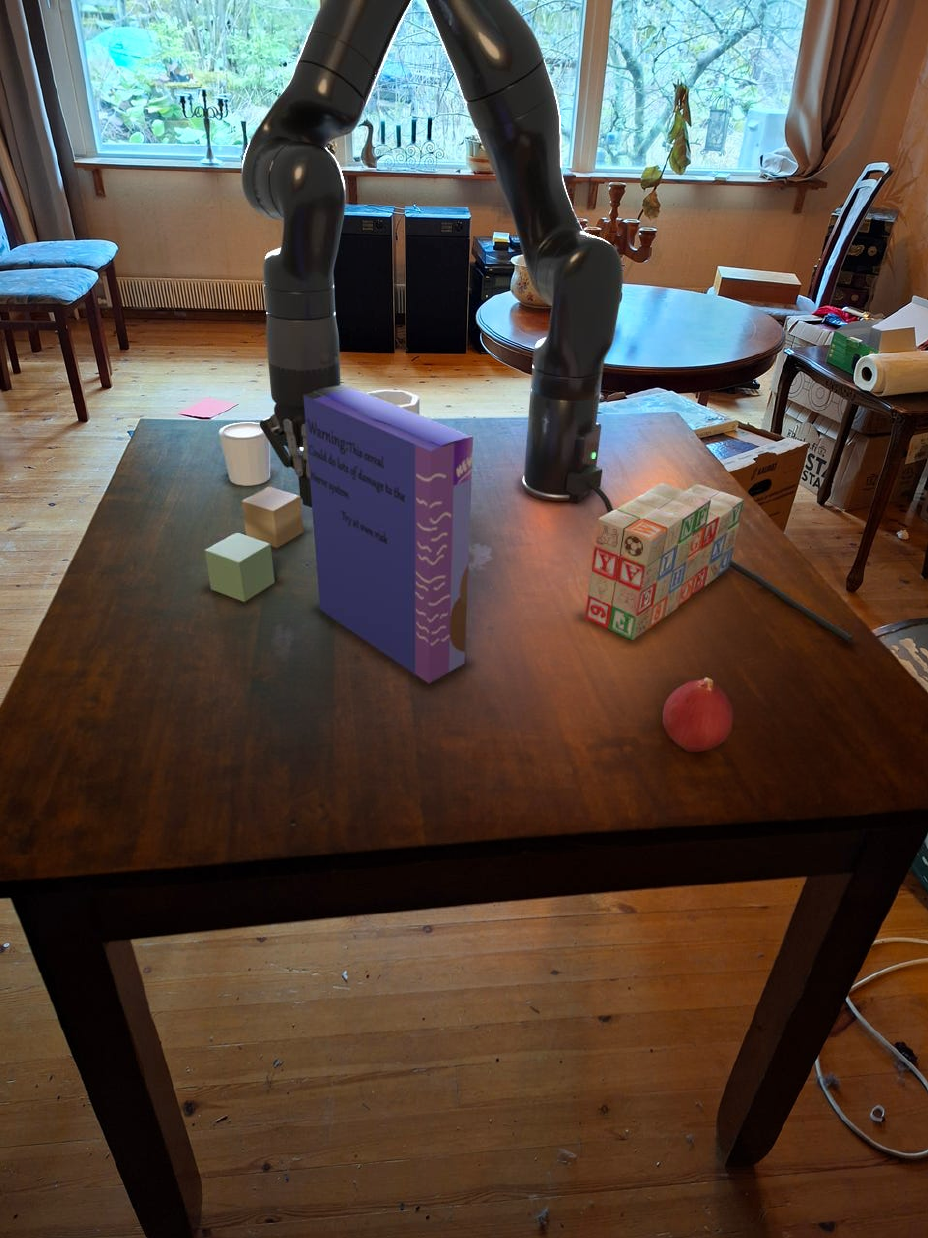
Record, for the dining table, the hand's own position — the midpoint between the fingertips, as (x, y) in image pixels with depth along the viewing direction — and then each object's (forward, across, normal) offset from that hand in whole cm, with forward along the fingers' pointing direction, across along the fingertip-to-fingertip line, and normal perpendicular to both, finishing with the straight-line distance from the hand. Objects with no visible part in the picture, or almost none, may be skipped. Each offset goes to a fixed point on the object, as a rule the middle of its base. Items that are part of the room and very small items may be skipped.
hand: (313, 504), depth 98 cm
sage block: (+6, +2, +11) cm, 13 cm away
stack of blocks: (+6, -39, -14) cm, 42 cm away
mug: (+6, +6, -25) cm, 27 cm away
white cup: (+6, +21, -11) cm, 25 cm away
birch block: (+6, +7, 0) cm, 9 cm away
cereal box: (+6, -18, +10) cm, 22 cm away
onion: (+6, -50, +10) cm, 51 cm away
